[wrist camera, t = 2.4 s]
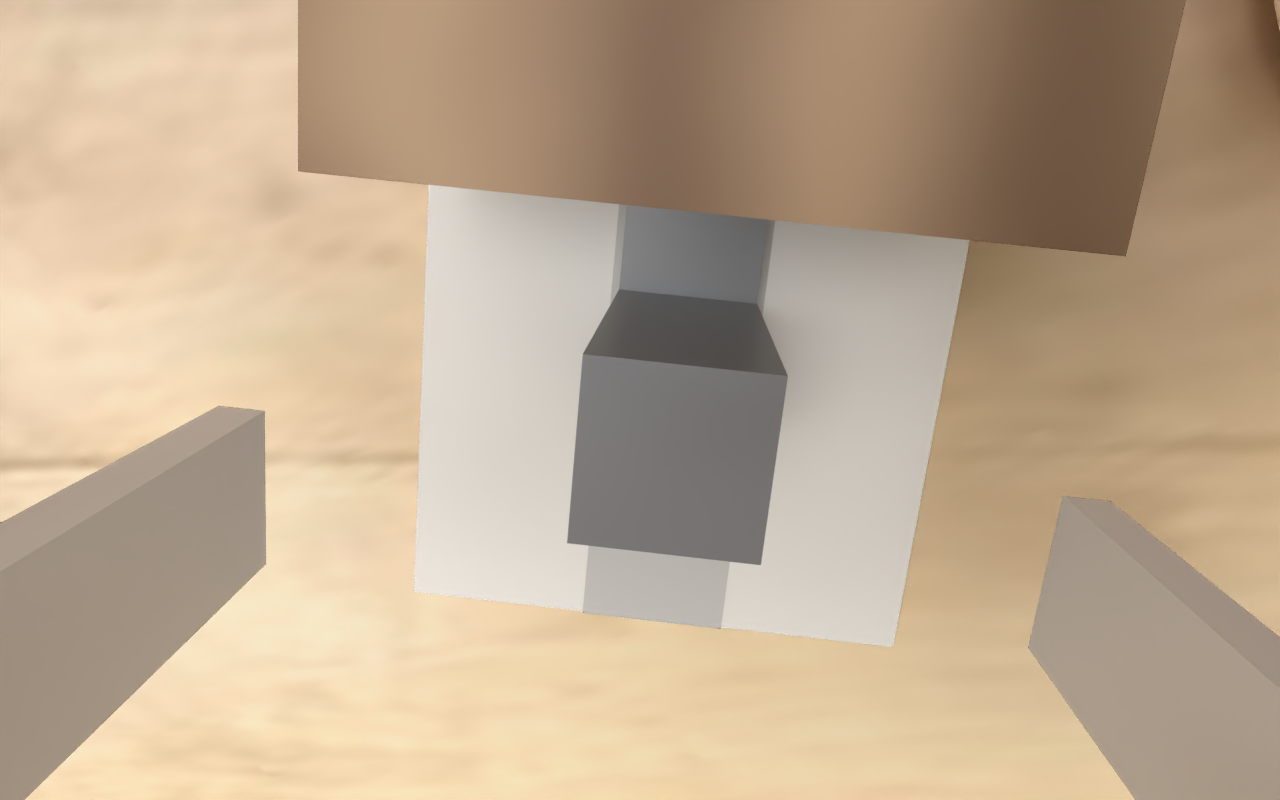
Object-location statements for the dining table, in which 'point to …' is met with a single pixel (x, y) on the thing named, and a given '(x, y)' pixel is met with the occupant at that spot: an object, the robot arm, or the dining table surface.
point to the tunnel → (756, 107)
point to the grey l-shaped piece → (680, 395)
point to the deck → (548, 409)
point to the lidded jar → (1277, 11)
